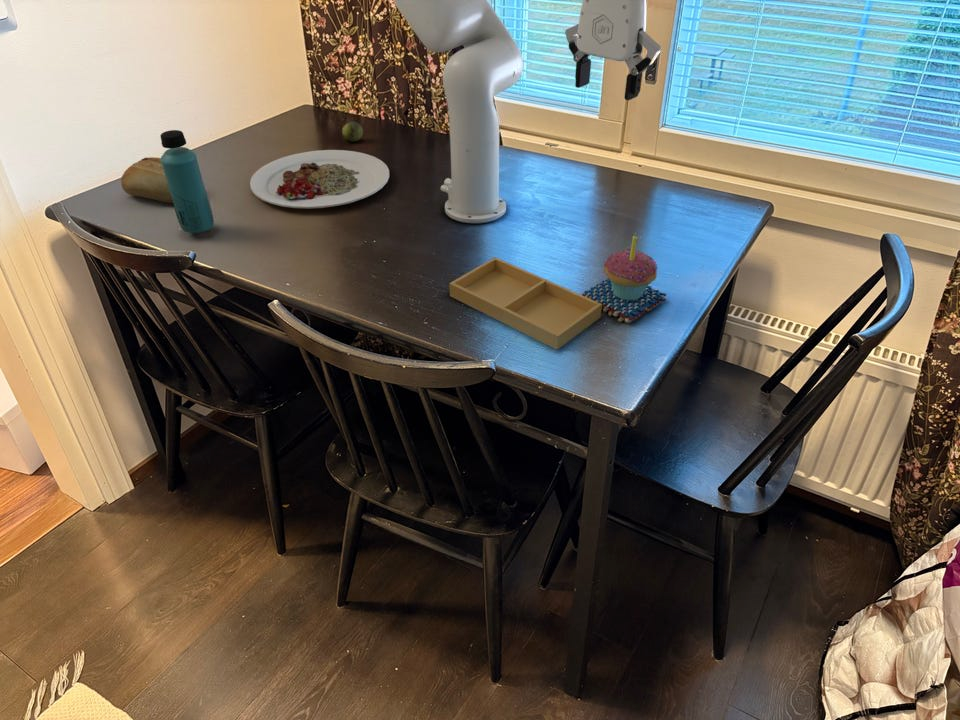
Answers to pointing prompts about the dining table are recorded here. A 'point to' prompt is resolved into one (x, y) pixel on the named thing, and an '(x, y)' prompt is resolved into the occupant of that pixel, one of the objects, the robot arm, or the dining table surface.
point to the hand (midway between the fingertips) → (606, 91)
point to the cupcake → (630, 272)
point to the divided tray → (526, 302)
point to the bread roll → (147, 180)
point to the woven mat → (624, 301)
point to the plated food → (319, 179)
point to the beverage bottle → (185, 184)
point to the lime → (352, 131)
